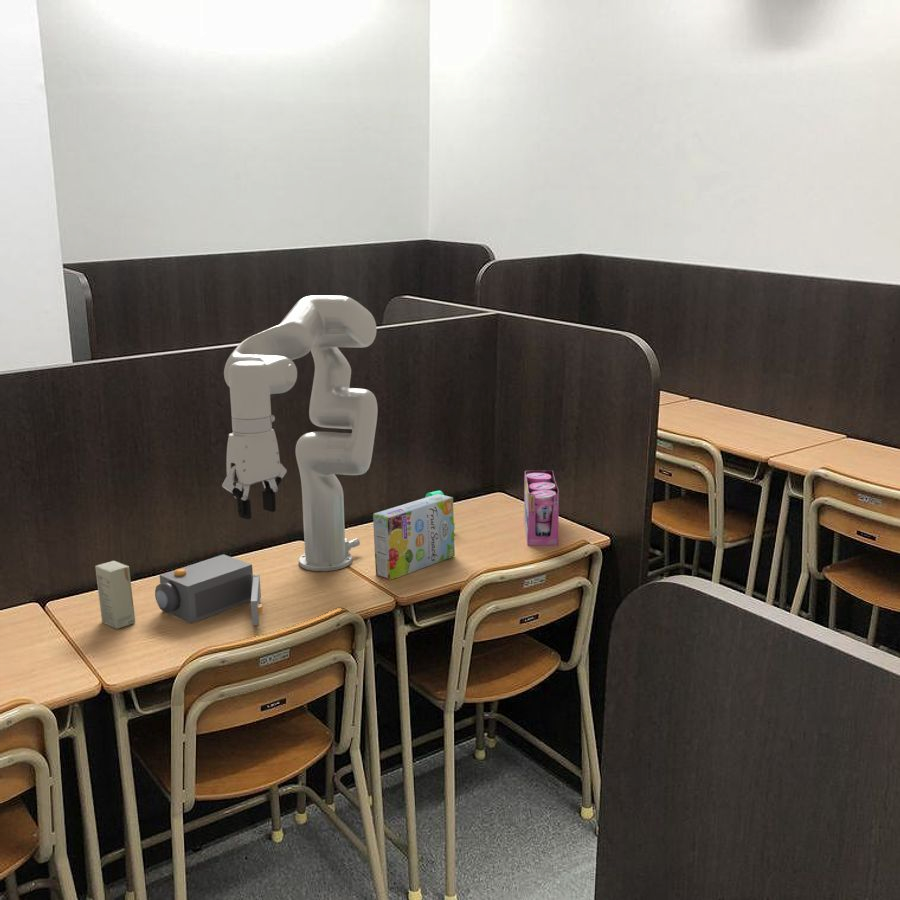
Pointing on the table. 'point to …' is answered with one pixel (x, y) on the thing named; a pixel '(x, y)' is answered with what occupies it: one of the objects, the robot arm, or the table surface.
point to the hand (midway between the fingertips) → (257, 513)
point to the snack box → (413, 536)
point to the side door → (256, 600)
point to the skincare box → (115, 594)
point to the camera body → (205, 588)
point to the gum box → (541, 507)
